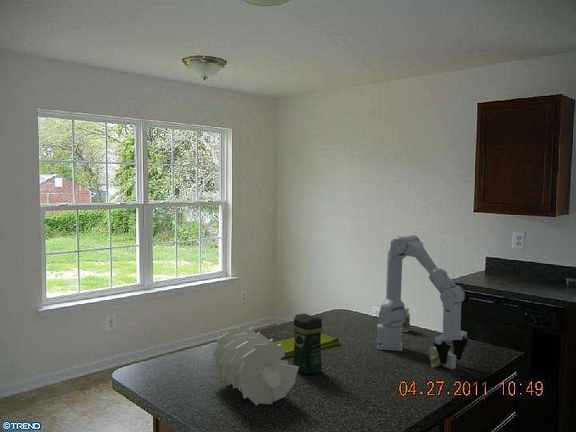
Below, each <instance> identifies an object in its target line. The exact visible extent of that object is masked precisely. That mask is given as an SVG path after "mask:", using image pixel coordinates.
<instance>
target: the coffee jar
mask: <svg viewBox="0 0 576 432" xmlns="http://www.w3.org/2000/svg"><path fill="white" fill-rule="evenodd" d="M293 331H294V332H293V333H294V337H295V341H294V356H292V357H293V358H292V360H293V361H292V365H293V366H299V368H298V372H300V373H301V374H304V375H316V374H317V373H319V372H321V371H322V366H323V365H322V364H323V363H322V349H321V334H322V331H323V321H322V318H320V317H317V316H313V315H312V314H311V315H310V314H307V313H299V314H296V315H295V317H294V319H293Z"/></svg>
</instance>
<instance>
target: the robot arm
mask: <svg viewBox="0 0 576 432" xmlns="http://www.w3.org/2000/svg"><path fill="white" fill-rule="evenodd" d="M389 247H390V248H389V250H388V252H387V258H386V260H387V263H386V266H387V267H386V290H385V300H384V301H383V302H382V303H381V304H380V309H379V312H378V320H379V323H377V324H376V325H377V329H376V330H377V331H376V332H377V333H376V338H375V339H376V340H375V343H376V350H381V351H382V350H383V351H385V350H386V351H397V352H403V344H402V333H403V332H402V324H403V321H404V320H405V318H406V311H405V308H404V307H405V303H404V302H403V301H402V279H403V278H402V277H403V276H402V275H403V260H404V259H405V258H406V257H407V256H408V257H411V258H415V259H416V260H417V262H418V263H419V264H420V265H421V266H422V267H423V268H424V270H426V272H427V273H428V274H429V276H428V279H429V281H430V282H431V283H432V284H433V286H434V287H435V288H436V290H437V291H438V293H439V298H440V301H441V303H442V308H443V310H442V313H443V315H442V333H440V335H438V336H435V337H434V341H433V346H434V347H436V349H437V352H438V355H439V359H440V363H443V364H446V363H447V357H448V352H449V351H450V349H451V347H452V346H451V345H450V344H448V343H449V342H451V341H452V345H453V354H454V355H456V360H459V361H461V360H462V356H463V353H464V351H465V348H466V346H467V345H468V344H469V339H468V332H467V331H464V330H461V328H462V327H461V325H462V324H461V322H462V321H461V320H462V319H461V318H462V302H464V301H465V298H466V293H465V291H464V288H463V287H461V286H460V285H456V283H455V282H454V281H453V280H452V279H451V278H450V277H449V276H448V272H447V271H446V270H444V269H442V268H438V267H437V265H436V264H435V263H434V261H433V259H432V258H431V256H430V255H429V254H428V252H427V251H426V249H425V247H424V242H422V241H421V239H420V238H419V236H417V235H415V234H414V235H405V236H396V237H394V238H393V239H392V240H390V246H389ZM447 342H448V343H447Z"/></svg>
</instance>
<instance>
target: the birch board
mask: <svg viewBox="0 0 576 432" xmlns="http://www.w3.org/2000/svg"><path fill="white" fill-rule="evenodd" d="M449 353H452V354H454V351H450V350H449ZM440 366H443V363H440V359H439V355H435V356H431V360H430V367H431V368H438V367H440Z"/></svg>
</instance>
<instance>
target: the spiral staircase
mask: <svg viewBox="0 0 576 432" xmlns="http://www.w3.org/2000/svg"><path fill="white" fill-rule="evenodd" d="M217 342H218V344H217V345H216V347H215V348H214V350H213V352H212V356H214V357H215V358H214V366H213V369H214V370H216V371H217V375H218V377H221V378H222V379H225V381H226V384H227V386H230V385H232V388H233V389H236V388H237V389H238V391H239V392H241V394H242V398H243V399H244V400H245V399H246V398H247V399H249V400H250V401H251V402H252V403H253V404H254V405H255V406H256V407H257V406H258V405H259V404H262V405H273V403H274V402H277V401H279V400H281V399H283V398H285V397H287V393H289V391H290V390H291V389H292V387H293V386H294V385H295V384H296V379H297V378H296V377H297V374H298V372H299V371H298V368H299V366H293V364H292V365H291V364H289V361H288V360H284V359H283V358H282V357H284V356H285V353H284V350H283V348H282V345H281V344H279V345H276V344H274V342H275V341H274V340H273V338H271V339H268V338H267V337H265V335H263V334H261V331H258V332H257V333H256V332H255V329H254V327H250V328H248V327H247V326H245V325H244V324H240V325H239V327H228V328H227V332H226V333H224V334H223V335H221V336H220V337H218V338H217ZM281 358H282V359H281Z"/></svg>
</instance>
